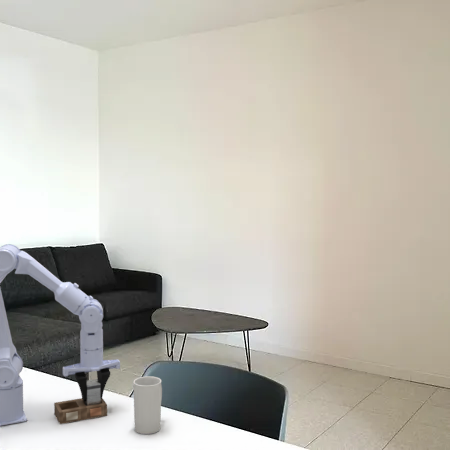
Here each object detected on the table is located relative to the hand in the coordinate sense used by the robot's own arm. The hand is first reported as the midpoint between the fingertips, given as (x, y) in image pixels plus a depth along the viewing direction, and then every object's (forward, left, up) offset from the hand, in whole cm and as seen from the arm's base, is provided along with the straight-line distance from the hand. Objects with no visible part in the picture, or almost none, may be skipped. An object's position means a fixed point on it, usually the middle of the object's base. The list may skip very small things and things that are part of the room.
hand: (92, 398), depth 148 cm
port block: (-3, 0, -4) cm, 5 cm away
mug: (+11, -15, -4) cm, 19 cm away
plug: (0, 0, -3) cm, 4 cm away
